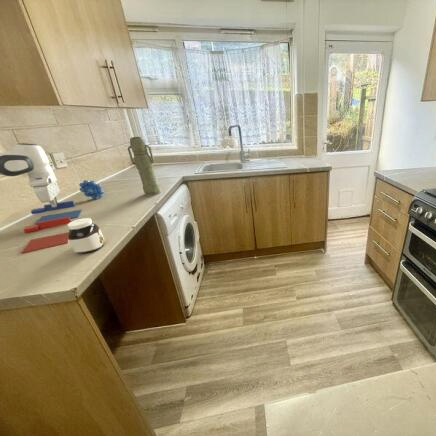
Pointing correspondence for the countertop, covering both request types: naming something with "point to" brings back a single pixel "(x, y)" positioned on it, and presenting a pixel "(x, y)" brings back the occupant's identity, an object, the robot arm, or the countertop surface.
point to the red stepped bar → (47, 224)
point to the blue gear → (91, 189)
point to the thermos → (144, 165)
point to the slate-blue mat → (60, 216)
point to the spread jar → (85, 236)
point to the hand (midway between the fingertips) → (55, 205)
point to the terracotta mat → (46, 242)
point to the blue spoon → (50, 208)
